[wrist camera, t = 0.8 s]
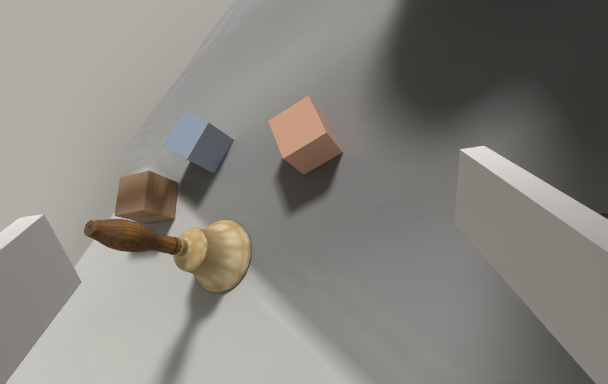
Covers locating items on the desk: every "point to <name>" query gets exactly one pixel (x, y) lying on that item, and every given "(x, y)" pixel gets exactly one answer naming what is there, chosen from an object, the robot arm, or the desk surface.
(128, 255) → the desk surface
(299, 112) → the terracotta block
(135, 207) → the walnut block
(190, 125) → the slate-blue block
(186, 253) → the hand bell
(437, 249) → the desk surface
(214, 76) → the desk surface
